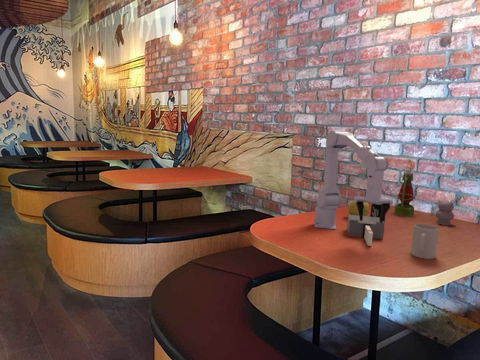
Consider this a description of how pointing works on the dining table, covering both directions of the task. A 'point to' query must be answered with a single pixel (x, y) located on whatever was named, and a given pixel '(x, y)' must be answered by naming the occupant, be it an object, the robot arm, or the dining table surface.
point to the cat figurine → (444, 212)
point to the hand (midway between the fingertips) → (370, 221)
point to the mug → (424, 241)
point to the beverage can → (376, 211)
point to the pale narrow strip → (368, 235)
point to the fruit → (354, 209)
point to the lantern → (405, 195)
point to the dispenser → (358, 227)
